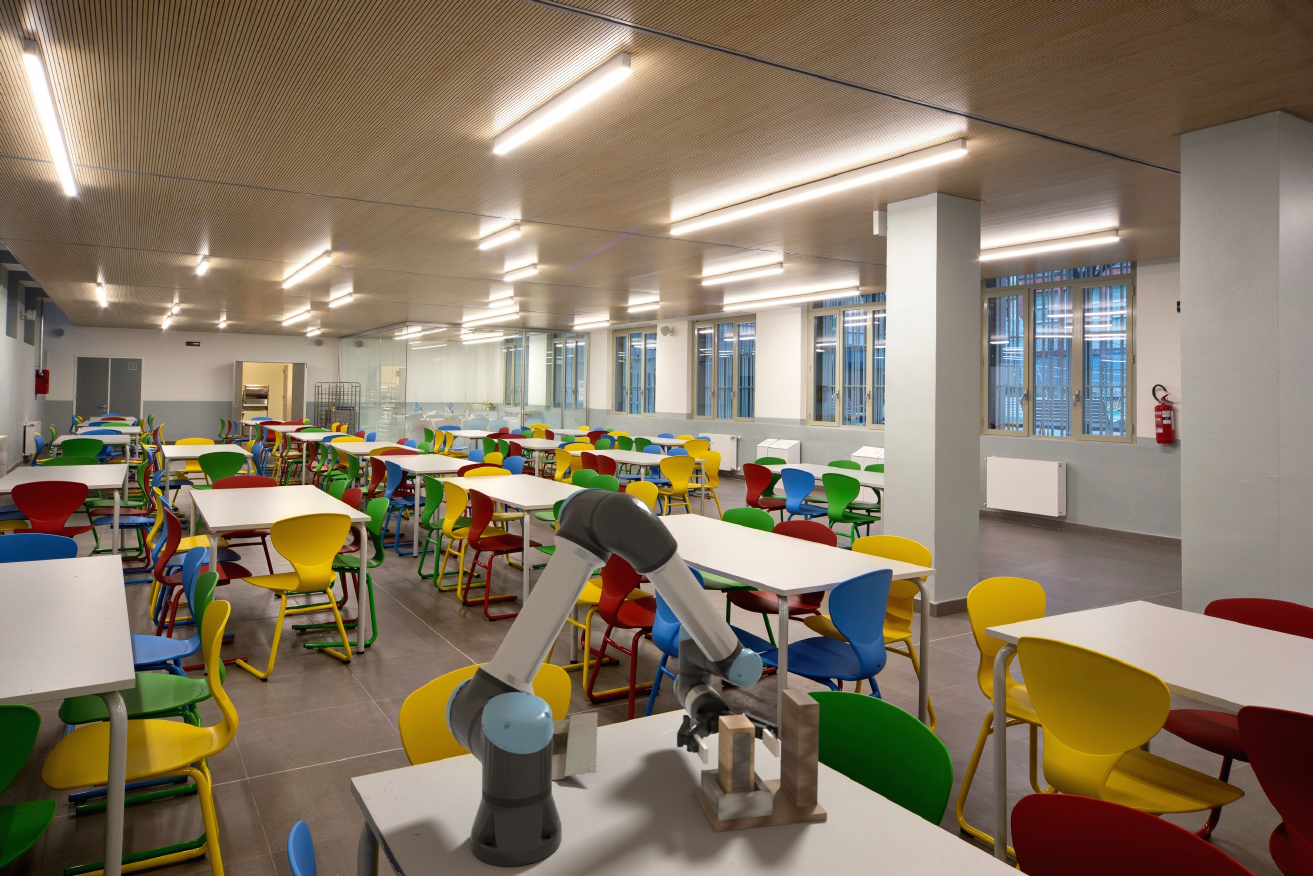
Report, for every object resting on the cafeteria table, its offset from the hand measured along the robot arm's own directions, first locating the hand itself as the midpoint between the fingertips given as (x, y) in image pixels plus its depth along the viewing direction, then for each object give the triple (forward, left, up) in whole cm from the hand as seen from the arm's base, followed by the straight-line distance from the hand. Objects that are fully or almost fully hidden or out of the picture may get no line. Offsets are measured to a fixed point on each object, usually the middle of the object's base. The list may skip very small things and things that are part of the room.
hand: (742, 753), depth 137 cm
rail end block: (0, +3, -10) cm, 11 cm away
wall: (-30, +26, -12) cm, 42 cm away
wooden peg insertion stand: (+5, +3, -12) cm, 13 cm away
